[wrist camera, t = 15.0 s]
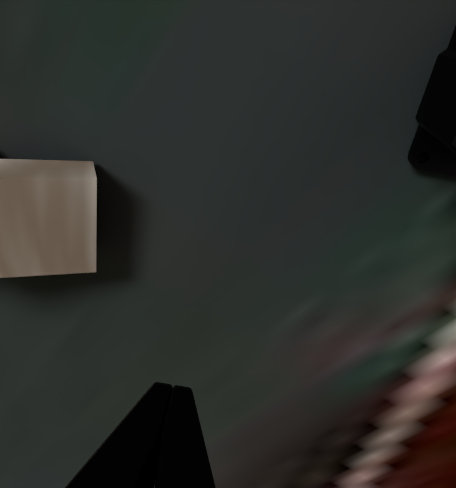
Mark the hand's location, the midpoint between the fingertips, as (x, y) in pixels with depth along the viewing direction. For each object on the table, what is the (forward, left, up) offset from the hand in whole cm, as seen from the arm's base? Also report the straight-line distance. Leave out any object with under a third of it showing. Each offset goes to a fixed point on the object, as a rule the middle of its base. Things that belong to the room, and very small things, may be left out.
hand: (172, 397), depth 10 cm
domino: (+6, +2, -11) cm, 13 cm away
